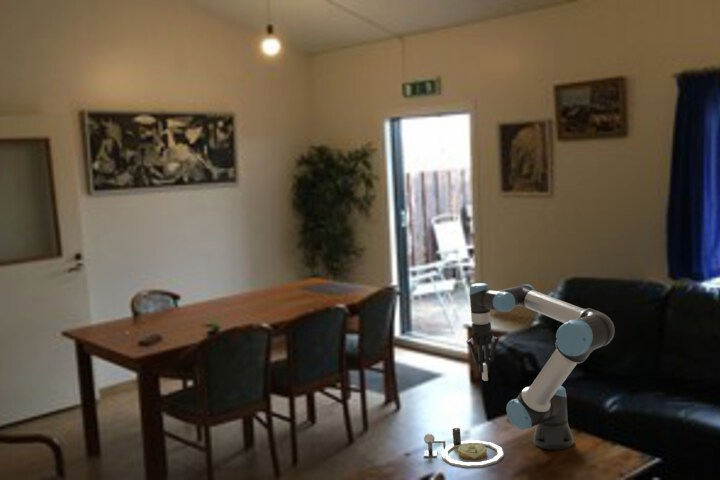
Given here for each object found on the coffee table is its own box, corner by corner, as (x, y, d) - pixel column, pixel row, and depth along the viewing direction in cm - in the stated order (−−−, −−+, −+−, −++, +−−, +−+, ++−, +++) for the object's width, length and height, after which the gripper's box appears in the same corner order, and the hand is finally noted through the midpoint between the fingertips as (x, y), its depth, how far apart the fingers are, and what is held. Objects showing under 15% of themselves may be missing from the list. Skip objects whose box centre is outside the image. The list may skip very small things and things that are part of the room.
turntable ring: (479, 438, 297) (478, 421, 297) (515, 457, 276) (514, 439, 275) (430, 452, 288) (429, 434, 287) (463, 472, 266) (462, 454, 266)
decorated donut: (478, 463, 274) (477, 454, 274) (453, 458, 281) (452, 449, 280) (491, 453, 282) (491, 444, 282) (467, 448, 289) (466, 439, 289)
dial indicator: (446, 452, 286) (445, 430, 285) (445, 458, 281) (444, 435, 280) (425, 452, 288) (423, 430, 287) (423, 458, 283) (422, 435, 282)
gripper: (493, 318, 297) (497, 375, 299) (462, 322, 295) (466, 379, 297) (500, 322, 289) (503, 380, 292) (468, 326, 287) (472, 384, 290)
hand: (485, 379), depth 295 cm, fingers closed
